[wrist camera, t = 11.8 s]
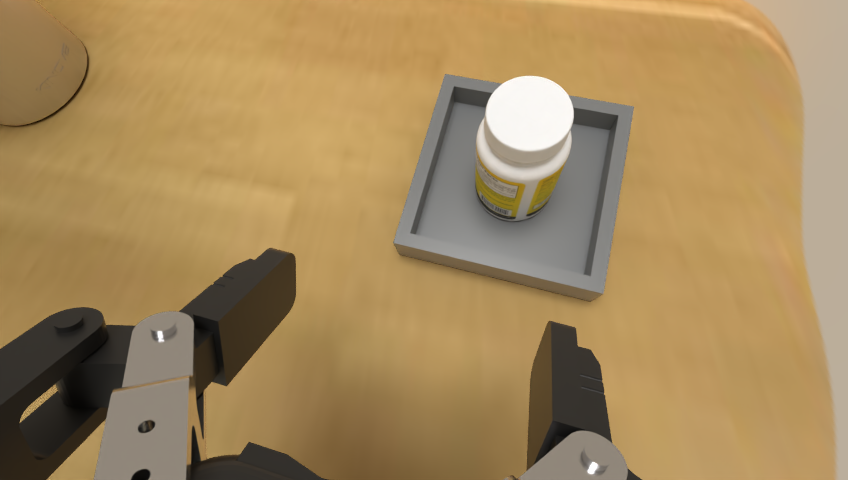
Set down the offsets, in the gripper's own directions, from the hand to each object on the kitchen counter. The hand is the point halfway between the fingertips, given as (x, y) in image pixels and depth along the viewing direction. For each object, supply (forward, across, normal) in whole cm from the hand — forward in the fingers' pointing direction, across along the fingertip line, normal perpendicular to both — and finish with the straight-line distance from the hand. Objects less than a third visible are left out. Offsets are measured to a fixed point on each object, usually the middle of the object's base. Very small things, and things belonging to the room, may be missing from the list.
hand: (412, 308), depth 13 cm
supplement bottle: (+16, -2, +2) cm, 17 cm away
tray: (+17, -2, +2) cm, 17 cm away
